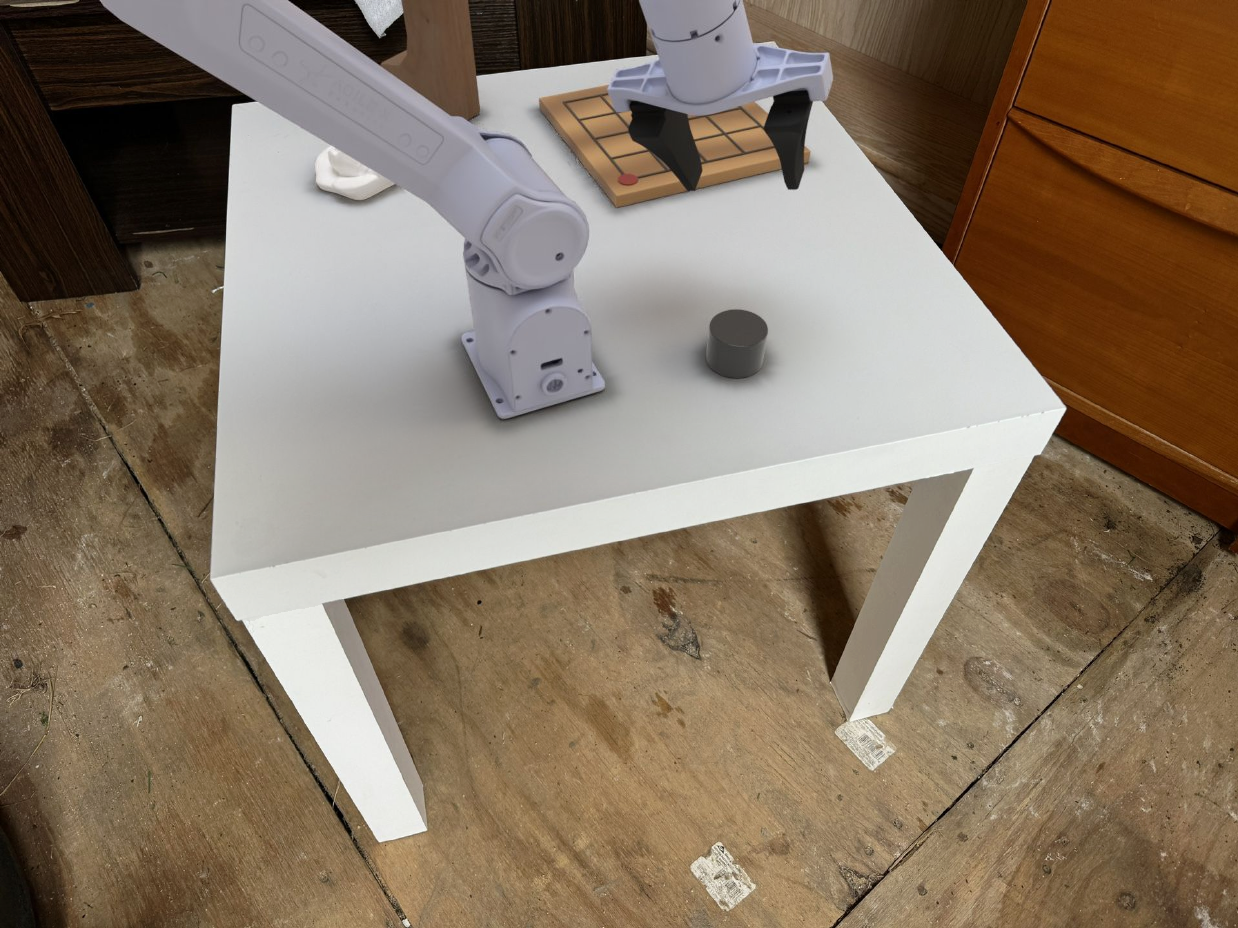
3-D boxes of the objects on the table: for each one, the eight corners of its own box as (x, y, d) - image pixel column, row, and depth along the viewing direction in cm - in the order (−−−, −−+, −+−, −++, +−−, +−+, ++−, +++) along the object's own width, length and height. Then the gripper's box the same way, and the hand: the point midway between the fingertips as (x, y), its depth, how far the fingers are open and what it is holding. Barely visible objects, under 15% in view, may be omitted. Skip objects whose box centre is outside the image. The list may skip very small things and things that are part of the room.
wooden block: (386, 107, 91) (348, -92, 77) (416, 90, 93) (384, -105, 80) (453, 131, 88) (424, -72, 74) (482, 113, 90) (459, -86, 77)
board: (808, 163, 84) (811, 150, 83) (616, 208, 79) (616, 194, 78) (711, 75, 96) (712, 63, 95) (539, 109, 91) (538, 97, 90)
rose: (406, 158, 75) (291, 159, 75) (414, 204, 79) (305, 205, 79) (420, 103, 82) (315, 103, 82) (428, 147, 85) (327, 148, 85)
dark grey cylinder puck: (773, 369, 64) (779, 337, 62) (722, 384, 63) (726, 353, 61) (745, 335, 67) (750, 303, 65) (696, 349, 66) (699, 317, 64)
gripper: (830, -50, 51) (857, 136, 62) (607, -21, 57) (668, 143, 68) (801, 33, 48) (835, 212, 59) (570, 54, 54) (640, 212, 65)
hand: (744, 180), depth 63 cm, fingers open, 7 cm apart
